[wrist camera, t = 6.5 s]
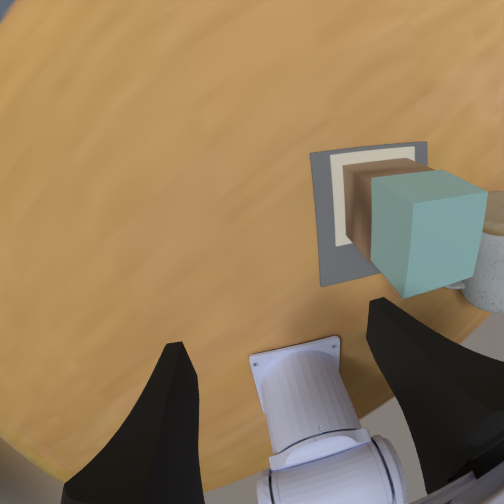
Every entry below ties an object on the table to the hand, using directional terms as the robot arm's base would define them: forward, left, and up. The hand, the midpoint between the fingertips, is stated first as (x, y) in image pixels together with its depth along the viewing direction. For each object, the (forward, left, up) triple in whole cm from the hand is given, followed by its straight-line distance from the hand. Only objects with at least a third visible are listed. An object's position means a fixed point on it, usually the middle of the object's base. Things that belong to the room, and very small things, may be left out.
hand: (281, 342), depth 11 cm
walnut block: (+1, -9, -10) cm, 14 cm away
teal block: (+1, -9, -6) cm, 11 cm away
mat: (-1, -9, -10) cm, 14 cm away
